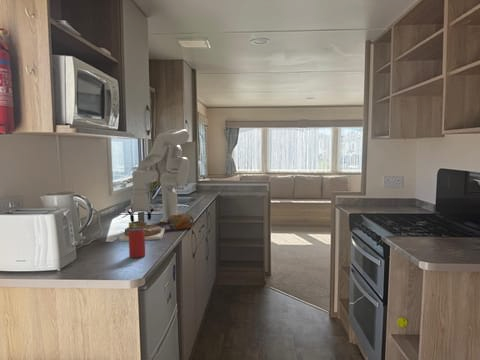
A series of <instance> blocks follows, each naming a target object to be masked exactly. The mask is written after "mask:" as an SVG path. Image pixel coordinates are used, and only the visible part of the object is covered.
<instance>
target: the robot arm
mask: <svg viewBox="0 0 480 360" xmlns="http://www.w3.org/2000/svg"><path fill="white" fill-rule="evenodd" d="M189 139H190V134H189V131H188V130H187V129H169V130H167V131H166V132H162V133H159V134H158V135H157V136H156V137H155V140H154V142H153V145H152V147H151V150H150V152H149V153H148V154H147V155H145V157H144V158H143V159H141V160H140V162H139V164H138V165H137V168H136V170H133V172H132V176H131V177H132V178H131V179H132V193H133V194H131V196H130V205H128V206H126V207H124V208H125V209H124V210H125V211H126V213H127V214H128V215H129V216H130V217H129V218H130V222H135V217H134V215H135V213H138V212H147V213H146V214H147V220H148V221H151V219H152V213H153V212H154V210H155V207H156V205H155V204H152V203H150V199H149V194H148V192H150V190H149V189H148V188H147V183H155V182H156V181H158V179H159V182H160V187H161V197H162V198H161V201H162V218H161V219H160V222H161V223H165V224H168V219H169V217H170V216H172V215H179V214H178V213H179V212H178V192H177V190H176V188H177V189H178V188H179V189H182V188H184V187H185V186H186V184H187V182H188V181H187V180H188V178H189V177H188V176H189V171H190V166H191V165H190V163H191V162H190V161H189V159H188V158H187V157H185V156H183V149H182V147H181V145H183V144H186V143H187V142H188V141H189ZM168 148H169V150H168V156H167V160H166V164H165V167H166V170H167V171H169V172H164V173H162V174H161V175H160V176H159V173H158V172H157V170H155V169H149V168H150V167H151V166H152V165H154V164H156V163H158V162H160V161H162V160H164V157H165V155H166V152H167V149H168ZM159 177H160V178H159ZM150 207H151V208H150Z"/></svg>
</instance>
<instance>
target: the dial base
mask: <svg viewBox="0 0 480 360" xmlns="http://www.w3.org/2000/svg"><path fill="white" fill-rule="evenodd" d="M165 232H166V228H165V227H161V232H160V233H158V234H154V235H149V236H145V241H148V240H154V241H156V240H162V238H163V236H164V233H165ZM124 241H125V242H129V236H128V235H125V231H124V232H123V233H122V234H121V235H120V236H119V237H118V242H124Z"/></svg>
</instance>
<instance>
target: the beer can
mask: <svg viewBox="0 0 480 360" xmlns="http://www.w3.org/2000/svg"><path fill="white" fill-rule="evenodd" d="M128 251H129V252H128V254H129V255H128V256H129V257H130V258H131V259H141V258H143V257H145V256H146V240H145V233H144V230H143V228H132V229H130V232H129V241H128Z"/></svg>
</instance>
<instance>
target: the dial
mask: <svg viewBox="0 0 480 360" xmlns="http://www.w3.org/2000/svg"><path fill="white" fill-rule="evenodd" d="M144 221H145V220H144ZM144 221H138V220H136V221H134V222H131V221H130V222H128V227H126V228H125V229H124V232H125V235H128V236H129V232H130V229H132V228H143V230H144V233H145V236H149V235H154V234H158V233H160V232H161V228H162V227H161V226H160V225H154V224H148V222H146V221H145V222H144Z"/></svg>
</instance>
